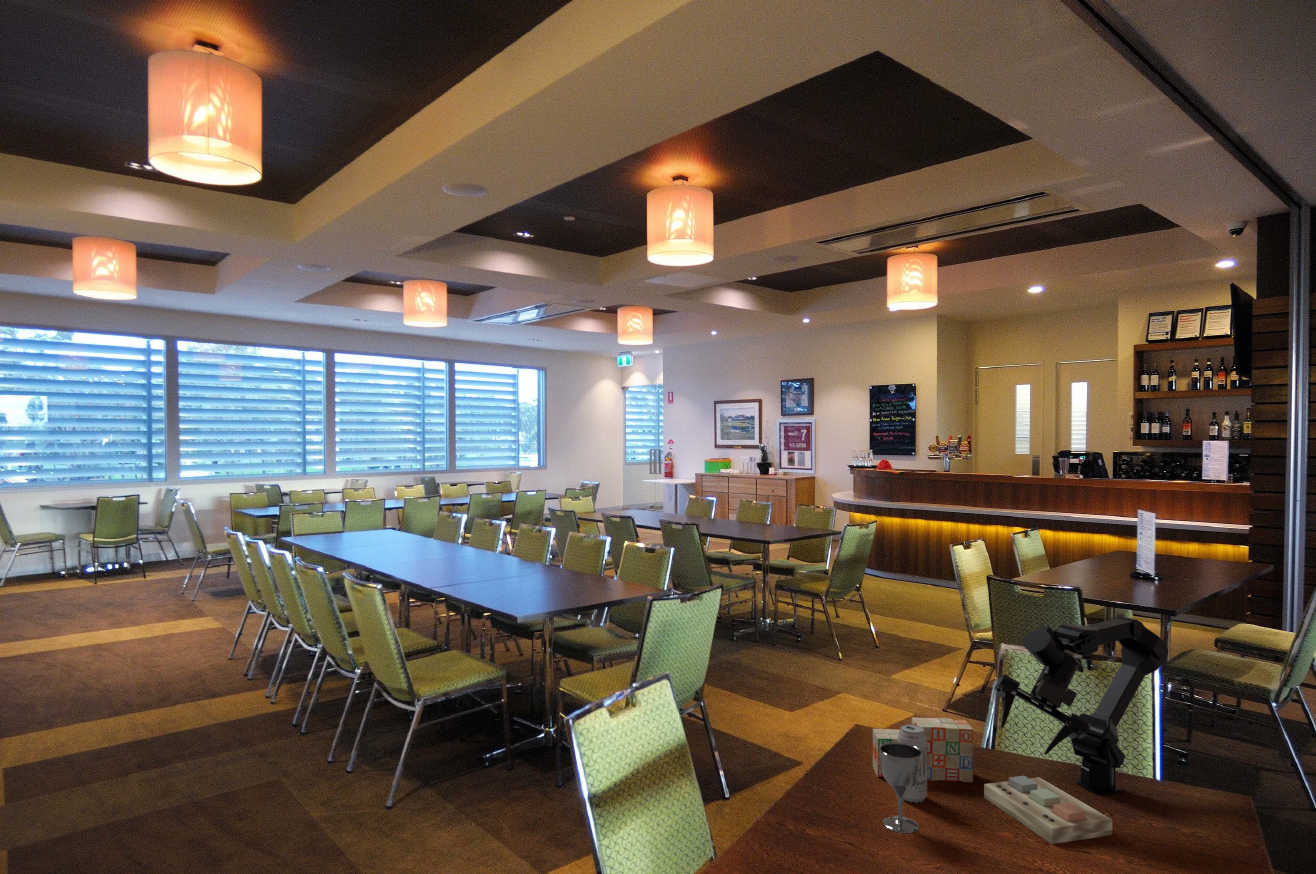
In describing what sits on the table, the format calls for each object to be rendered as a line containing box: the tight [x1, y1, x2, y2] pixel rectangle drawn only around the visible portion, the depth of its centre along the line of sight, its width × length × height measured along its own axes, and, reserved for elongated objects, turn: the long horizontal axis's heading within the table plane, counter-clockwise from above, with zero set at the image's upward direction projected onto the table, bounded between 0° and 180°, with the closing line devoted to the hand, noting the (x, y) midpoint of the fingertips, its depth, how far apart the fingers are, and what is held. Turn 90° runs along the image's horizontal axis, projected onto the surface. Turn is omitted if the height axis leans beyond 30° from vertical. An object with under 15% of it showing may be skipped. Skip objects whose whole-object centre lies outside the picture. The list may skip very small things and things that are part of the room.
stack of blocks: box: [872, 717, 974, 783], centre depth 182 cm, size 21×6×12 cm, turn 84°
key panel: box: [983, 776, 1113, 845], centre depth 162 cm, size 14×20×3 cm
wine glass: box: [880, 743, 921, 834], centre depth 158 cm, size 8×8×15 cm
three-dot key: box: [1008, 775, 1038, 793], centre depth 168 cm, size 4×4×2 cm
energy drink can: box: [898, 723, 928, 804], centre depth 170 cm, size 6×6×15 cm
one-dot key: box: [1030, 789, 1060, 807], centre depth 162 cm, size 4×4×2 cm
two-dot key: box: [1053, 802, 1085, 822], centre depth 156 cm, size 4×4×2 cm
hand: (1023, 741), depth 164 cm, fingers open, 9 cm apart
